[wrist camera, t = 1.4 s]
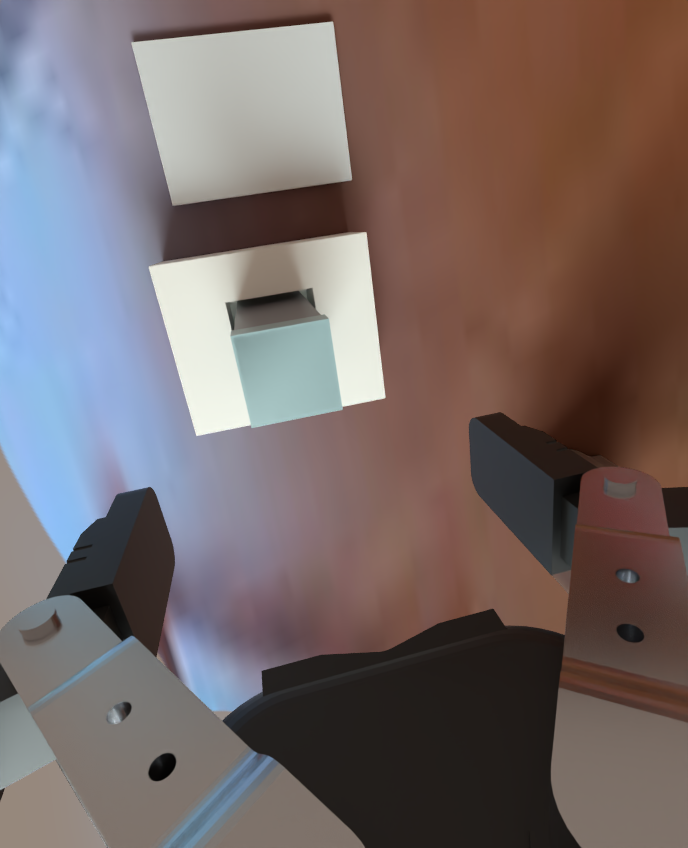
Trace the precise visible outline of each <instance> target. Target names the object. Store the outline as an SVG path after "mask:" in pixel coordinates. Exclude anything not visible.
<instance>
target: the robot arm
mask: <svg viewBox="0 0 688 848" xmlns="http://www.w3.org/2000/svg"><path fill="white" fill-rule="evenodd" d="M469 440H470V460H471V476H472V481H473V484H474V487H475V489H476V491H477V493H478V495H479V496H480V497H481V498H482V499H483V500H484V501H485V503H486V504H487V505H488V506H489V507H490V508H491V509H492V510H493V511H494V513H495V514H496V515H497V516H498V517H499V518H500V519H501V520H502V521H503V522H504V524H505V525H506V526H507V527H508V528H509V529H510V530H511V531H512V532H513V533H514V535H515V536H516V537H517V538H518V539H519V540H520V541H521V542H522V543H523V544H524V546H525V547H526V548H527V549H528V550H529V551H530V552H531V553H532V554H533V556H534V557H535V558H536V559H537V560H538V561H539V562H540V563H541V564H542V565H543V567H544V568H545V569H546V570H547V571H548V572H549V573H550V574H551V575H552V576H553V577H554V578H555V579H556V580H557V582H558V583H559V584H560V585H561V586H562V587H563V588H564V589H565V590H566V592H567V593H568V594H569V597H568V608H567V618H566V629H565V635H563V634H560V633H557V632H553V631H549V630H545V629H540V628H534V627H527V626H504V624H503V623H502V621H501V620H500V618H499V617H498V615H497V614H496V612H495V611H494V609H490V610H487V611H483V612H479V613H475V614H472V615H468V616H464V617H461V618H457V619H453V620H449V621H446V622H442V623H439V624H437V625H435V626H433V627H431V628H429V629H427V630H425V631H423V632H422V633H420V634H418V635H416V636H414V637H412V638H410V639H408V640H407V641H405V642H403V643H401V644H399V645H397V646H395V647H393V648H391V649H389V650H387V651H383V652H369V653H349V654H330V655H319V656H315V657H312V658H308V659H304V660H301V661H297V662H293V663H289V664H286V665H282V666H278V667H275V668H271V669H267V670H263V671H262V687H263V692H261V693H260V694H258V695H256V696H254V697H252V698H251V699H249V700H248V701H246V702H245V703H243V704H242V705H240V706H239V707H238V708H237V709H235V710H234V711H233V712H232V713H230V714H229V715H228V716H227V717H226V718H225V719H224V720H223V721H222V720H220V719H219V718H218V717H217V716H216V715H215V714H214V713H213V712H212V711H211V710H210V709H209V708H208V707H207V706H206V705H205V704H204V703H203V702H202V701H201V700H200V699H199V698H198V697H197V696H196V695H195V694H194V693H192V692H191V691H190V690H189V689H188V688H187V687H186V686H185V685H184V684H183V683H182V682H181V681H180V680H179V679H178V678H177V677H176V676H175V675H174V674H173V673H172V672H171V671H170V670H169V669H168V668H167V667H166V666H164V665H163V664H162V663H161V662H160V661H159V660H158V659H157V658H156V656H157V651H158V646H159V641H160V636H161V631H162V626H163V621H164V617H165V612H166V607H167V602H168V597H169V592H170V587H171V582H172V577H173V572H174V566H175V556H174V549H173V544H172V541H171V538H170V535H169V532H168V529H167V526H166V523H165V520H164V517H163V514H162V511H161V508H160V505H159V502H158V499H157V496H156V494H155V492H154V490H153V489H152V488H151V487H148V488H143V489H139V490H134V491H129V492H125V493H120V494H117V495H116V497H115V499H114V501H113V503H112V505H111V507H110V510H109V512H108V514H107V516H106V517H105V518H101V519H97V520H96V521H95V522H94V523H93V524H92V525H90V526H89V527H88V528H87V529H86V530H85V531H84V532H83V533H82V534H81V535H80V537H79V539H78V541H77V543H76V545H75V546H74V548H73V550H74V551H73V552H71V554H70V556H69V558H68V560H67V564H65V565H64V567H63V569H62V571H61V573H60V575H59V577H58V578H57V580H56V582H55V584H54V586H53V588H52V589H51V591H50V593H49V595H48V597H47V599H46V600H43V601H41V602H39V603H36V604H34V605H33V606H30V607H29V608H27V609H25V610H23V611H22V612H20V613H19V614H17V615H16V616H15V617H14V618H12V619H11V620H10V621H9V622H8V623H7V624H6V625H5V626H4V627H3V628H2V629H1V630H0V800H1V798H2V795H3V792H4V789H5V787H7V786H8V785H11V784H12V783H14V782H16V781H18V780H20V779H21V778H23V777H25V776H27V775H28V774H30V773H32V772H34V771H36V770H38V769H40V768H41V767H43V766H45V765H47V764H49V763H50V762H52V761H54V760H56V761H57V763H58V765H59V767H60V768H61V770H62V772H63V774H64V775H65V777H66V779H67V781H68V782H69V784H70V786H71V787H72V789H73V791H74V793H75V794H76V796H77V798H78V799H79V801H80V803H81V805H82V806H83V808H84V810H85V811H86V813H87V815H88V817H89V818H90V820H91V822H92V823H93V825H94V827H95V829H96V830H97V832H98V834H99V835H100V837H101V839H102V841H103V842H104V844H105V846H106V848H688V487H678V488H661V485H660V483H659V482H658V481H657V480H656V479H655V478H653V477H652V476H650V475H648V474H646V473H644V472H641V471H638V470H634V469H630V468H624V467H619V466H617V465H615V464H614V463H612V462H611V461H609V460H607V459H606V458H604V457H603V456H601V455H598V456H592V457H590V456H587V455H585V454H584V453H582V452H580V451H576V450H572V449H567V447H566V446H564V445H563V444H561V443H560V442H556V440H555V439H554V438H552V437H550V436H549V435H547V434H546V433H544V432H543V431H540V430H536V429H533V428H530V427H527V426H520V425H519V424H517V423H516V422H515V421H513V420H512V419H510V418H509V417H507V416H506V415H504V414H503V413H501V412H499V413H494V414H489V415H485V416H480V417H476V418H472V419H471V420H470V423H469Z"/></svg>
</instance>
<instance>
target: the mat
mask: <svg viewBox="0 0 688 848" xmlns="http://www.w3.org/2000/svg"><path fill="white" fill-rule="evenodd" d="M131 43H132V47H133V51H134V55H135V59H136V63H137V66H138V70H139V74H140V78H141V82H142V86H143V90H144V94H145V98H146V102H147V106H148V110H149V114H150V118H151V122H152V126H153V130H154V134H155V138H156V141H157V145H158V149H159V153H160V157H161V161H162V165H163V169H164V173H165V177H166V181H167V185H168V189H169V193H170V197H171V201H172V205H173V206H178V205H185V204H192V203H198V202H205V201H212V200H219V199H226V198H233V197H240V196H247V195H254V194H261V193H268V192H275V191H282V190H289V189H296V188H303V187H309V186H316V185H323V184H330V183H337V182H344V181H350V180H352V175H351V166H350V158H349V150H348V141H347V133H346V125H345V117H344V108H343V100H342V92H341V83H340V75H339V67H338V58H337V50H336V42H335V34H334V25H333V22H324V23H314V24H305V25H295V26H285V27H276V28H266V29H257V30H247V31H237V32H228V33H218V34H208V35H199V36H189V37H179V38H170V39H160V40H150V41H141V42H131Z"/></svg>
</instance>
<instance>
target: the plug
mask: <svg viewBox="0 0 688 848" xmlns="http://www.w3.org/2000/svg"><path fill="white" fill-rule="evenodd" d="M230 337H231V342H232V346H233V350H234V354H235V359H236V363H237V367H238V371H239V376H240V380H241V384H242V389H243V393H244V397H245V401H246V406H247V410H248V414H249V419H250V423H251V427H252V428H254V427H259V426H264V425H269V424H274V423H279V422H284V421H289V420H294V419H299V418H304V417H309V416H314V415H319V414H323V413H328V412H333V411H338V410H343V408H342V402H341V395H340V388H339V382H338V375H337V369H336V362H335V356H334V349H333V342H332V336H331V329H330V323H329V318H328V317H327V316H326V315H325V314H323V315H321V314H320V313H319V312H318V311H317V310H316V309H315V308H314V307H313V306H312V305H311V304H310V302H309V301H308V300H307V299H306V298H305V297H304V296H303V295H302V294H301V293H300V292H299V291H293V292H287V293H281V294H275V295H269V296H264V297H258V298H252V299H246V300H240V301H237V307H236V317H235V326H234V330H233V331H231V334H230Z"/></svg>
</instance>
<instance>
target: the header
mask: <svg viewBox="0 0 688 848" xmlns="http://www.w3.org/2000/svg"><path fill="white" fill-rule="evenodd" d="M149 270H150V273H151V277H152V280H153V284H154V288H155V291H156V295H157V298H158V302H159V305H160V309H161V312H162V316H163V319H164V323H165V326H166V330H167V333H168V337H169V340H170V344H171V347H172V351H173V354H174V358H175V362H176V365H177V369H178V372H179V376H180V379H181V383H182V386H183V390H184V393H185V397H186V400H187V404H188V407H189V411H190V414H191V418H192V421H193V425H194V429H195V432H196V436H199V435H204V434H209V433H214V432H219V431H224V430H229V429H233V428H238V427H243V426H248V425H251V423H250V419H249V414H248V410H247V406H246V401H245V397H244V393H243V389H242V384H241V380H240V376H239V371H238V367H237V363H236V359H235V354H234V350H233V346H232V342H231V337H230V334H231V331H233V330H234V326H235V317H236V307H237V301H240V300H246V299H252V298H258V297H264V296H269V295H275V294H281V293H287V292H293V291H299V292H300V293H301V294H302V295H303V296H304V297H305V298H306V299H307V300H308V301H309V302H310V304H311V305H312V306H313V307H314V308H315V309H316V310H317V311H318V312H319V313H320V314H321V315H323V314H325V315H326V316H327V317H328V318H329V323H330V329H331V336H332V342H333V349H334V356H335V362H336V369H337V375H338V382H339V388H340V395H341V402H342V407H343V406H348V405H353V404H358V403H363V402H368V401H373V400H378V399H383V398H385V391H384V382H383V373H382V365H381V356H380V347H379V338H378V330H377V321H376V312H375V303H374V295H373V286H372V277H371V269H370V260H369V251H368V242H367V234H366V232H347V233H341V234H334V235H328V236H322V237H315V238H309V239H302V240H296V241H290V242H283V243H277V244H271V245H264V246H258V247H252V248H245V249H239V250H232V251H226V252H220V253H213V254H207V255H201V256H194V257H188V258H182V259H175V260H169V261H163V262H160V263H157V264H154V265H152V266H149Z"/></svg>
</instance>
